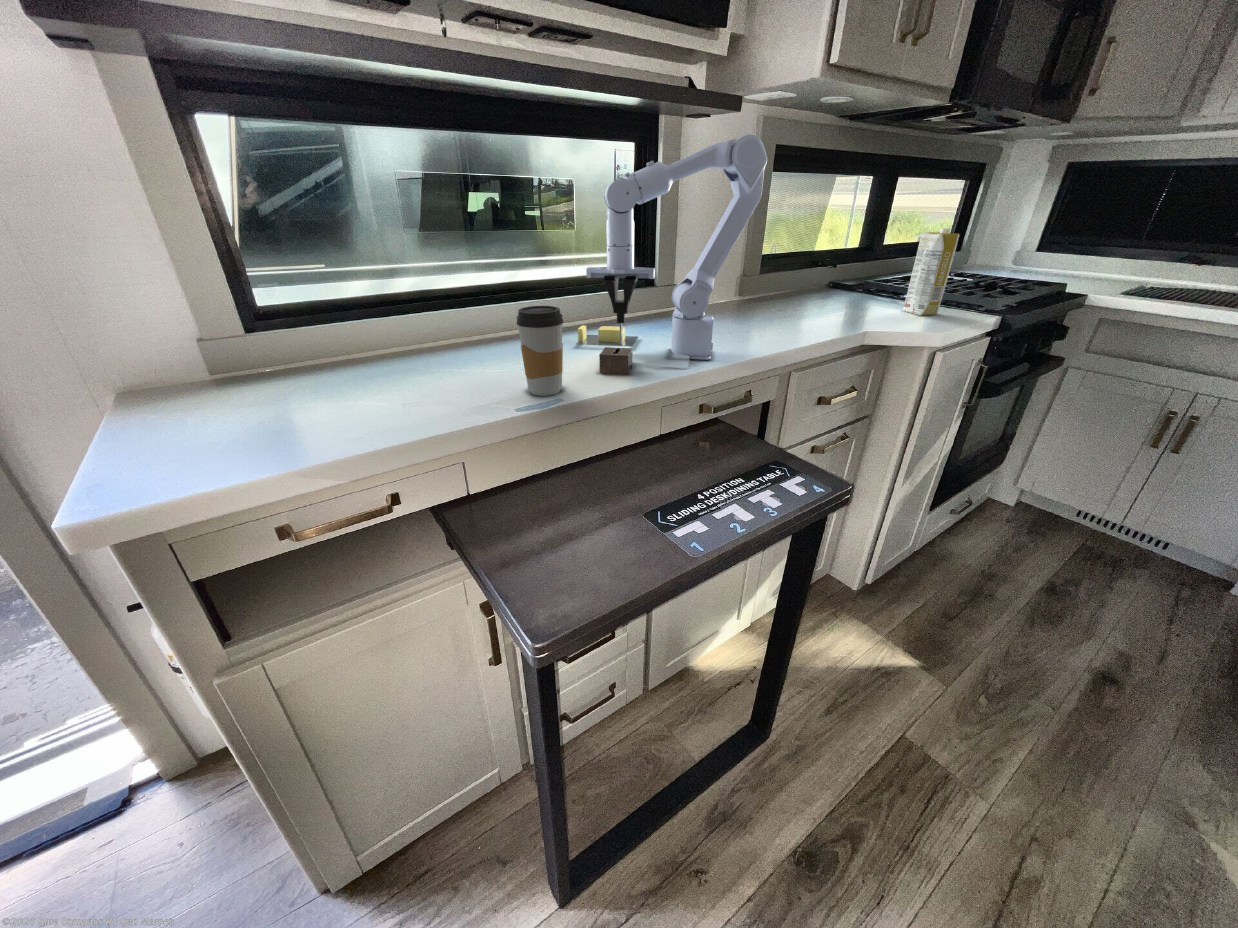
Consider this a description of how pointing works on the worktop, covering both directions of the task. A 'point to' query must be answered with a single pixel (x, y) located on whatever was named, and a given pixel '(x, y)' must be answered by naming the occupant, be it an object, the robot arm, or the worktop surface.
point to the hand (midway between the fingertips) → (620, 312)
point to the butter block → (610, 334)
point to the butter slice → (582, 333)
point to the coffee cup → (541, 348)
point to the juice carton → (930, 272)
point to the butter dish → (594, 341)
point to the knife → (620, 316)
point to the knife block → (616, 360)
